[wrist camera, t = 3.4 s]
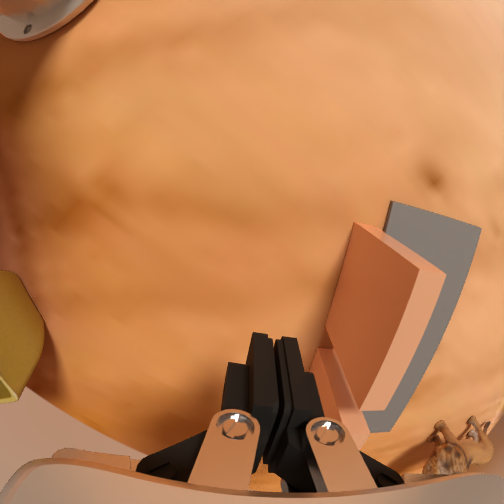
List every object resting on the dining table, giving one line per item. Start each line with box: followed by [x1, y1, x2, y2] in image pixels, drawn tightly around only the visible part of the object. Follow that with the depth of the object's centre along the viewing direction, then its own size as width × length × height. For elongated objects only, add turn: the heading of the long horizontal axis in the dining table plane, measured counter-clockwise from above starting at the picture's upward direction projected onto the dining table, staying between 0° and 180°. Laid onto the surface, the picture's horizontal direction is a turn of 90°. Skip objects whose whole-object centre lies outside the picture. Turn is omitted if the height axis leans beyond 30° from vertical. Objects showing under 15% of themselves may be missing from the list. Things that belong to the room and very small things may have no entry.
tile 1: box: [309, 348, 371, 450], centre depth 20 cm, size 8×2×9 cm, turn 170°
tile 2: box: [325, 222, 447, 411], centre depth 17 cm, size 8×2×9 cm, turn 170°
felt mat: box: [362, 201, 482, 433], centre depth 23 cm, size 22×9×1 cm, turn 170°
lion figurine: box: [422, 416, 493, 475], centre depth 24 cm, size 15×5×9 cm, turn 84°
